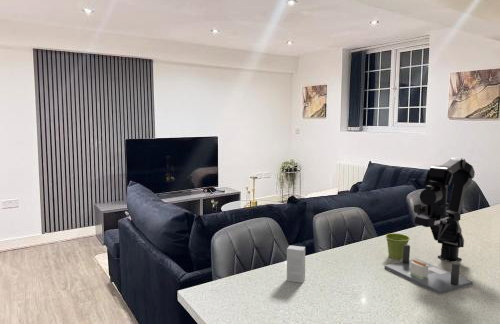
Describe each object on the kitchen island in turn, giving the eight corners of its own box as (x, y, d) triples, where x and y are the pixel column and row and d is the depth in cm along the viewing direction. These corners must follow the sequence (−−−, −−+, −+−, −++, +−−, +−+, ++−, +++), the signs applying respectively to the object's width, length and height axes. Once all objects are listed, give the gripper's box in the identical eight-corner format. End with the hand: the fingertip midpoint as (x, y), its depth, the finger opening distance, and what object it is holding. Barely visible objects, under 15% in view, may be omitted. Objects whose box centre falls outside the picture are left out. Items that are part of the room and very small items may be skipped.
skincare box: (305, 278, 138) (305, 246, 137) (303, 283, 134) (303, 250, 133) (288, 276, 140) (289, 244, 139) (286, 281, 136) (286, 248, 135)
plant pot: (410, 261, 154) (411, 241, 153) (386, 260, 156) (387, 239, 155) (406, 253, 163) (407, 234, 162) (383, 252, 165) (383, 232, 164)
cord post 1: (405, 261, 152) (406, 244, 151) (410, 263, 150) (411, 245, 149) (401, 262, 151) (402, 245, 150) (406, 264, 149) (406, 246, 148)
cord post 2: (453, 281, 133) (454, 262, 132) (460, 284, 131) (461, 264, 130) (448, 283, 132) (450, 263, 131) (455, 285, 130) (456, 266, 129)
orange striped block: (416, 271, 142) (416, 258, 141) (427, 276, 137) (428, 263, 136) (410, 272, 140) (411, 260, 140) (421, 277, 136) (422, 264, 135)
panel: (416, 261, 155) (416, 258, 155) (472, 284, 133) (472, 281, 133) (384, 268, 148) (384, 265, 147) (438, 294, 126) (439, 290, 126)
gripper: (436, 193, 154) (434, 230, 156) (403, 198, 146) (401, 238, 148) (462, 198, 144) (460, 238, 146) (427, 205, 136) (426, 247, 138)
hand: (436, 240), depth 145 cm, fingers closed
